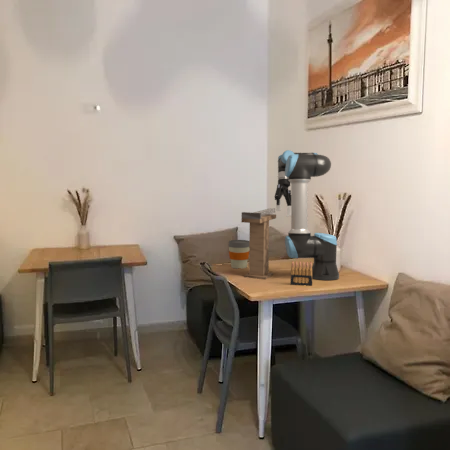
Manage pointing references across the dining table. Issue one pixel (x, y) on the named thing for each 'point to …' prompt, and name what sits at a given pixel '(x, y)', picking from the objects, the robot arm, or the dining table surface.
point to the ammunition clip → (305, 275)
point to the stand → (258, 244)
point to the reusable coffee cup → (239, 253)
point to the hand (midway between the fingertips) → (283, 213)
